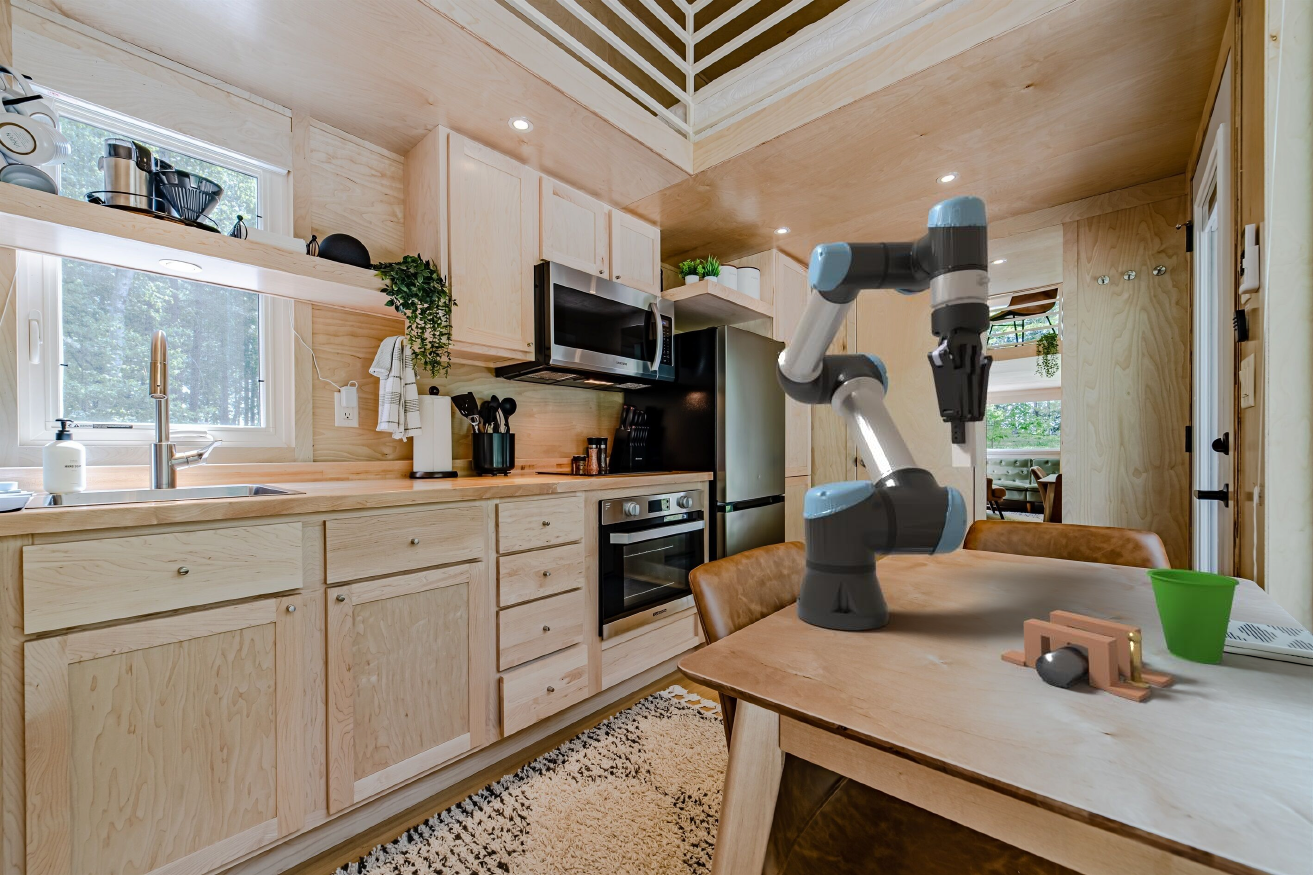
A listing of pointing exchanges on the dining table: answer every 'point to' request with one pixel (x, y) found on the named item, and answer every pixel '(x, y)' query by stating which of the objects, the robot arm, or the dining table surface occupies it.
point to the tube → (1065, 665)
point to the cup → (1194, 612)
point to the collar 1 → (1099, 646)
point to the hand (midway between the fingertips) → (964, 466)
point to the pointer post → (1135, 661)
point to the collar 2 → (1109, 629)
